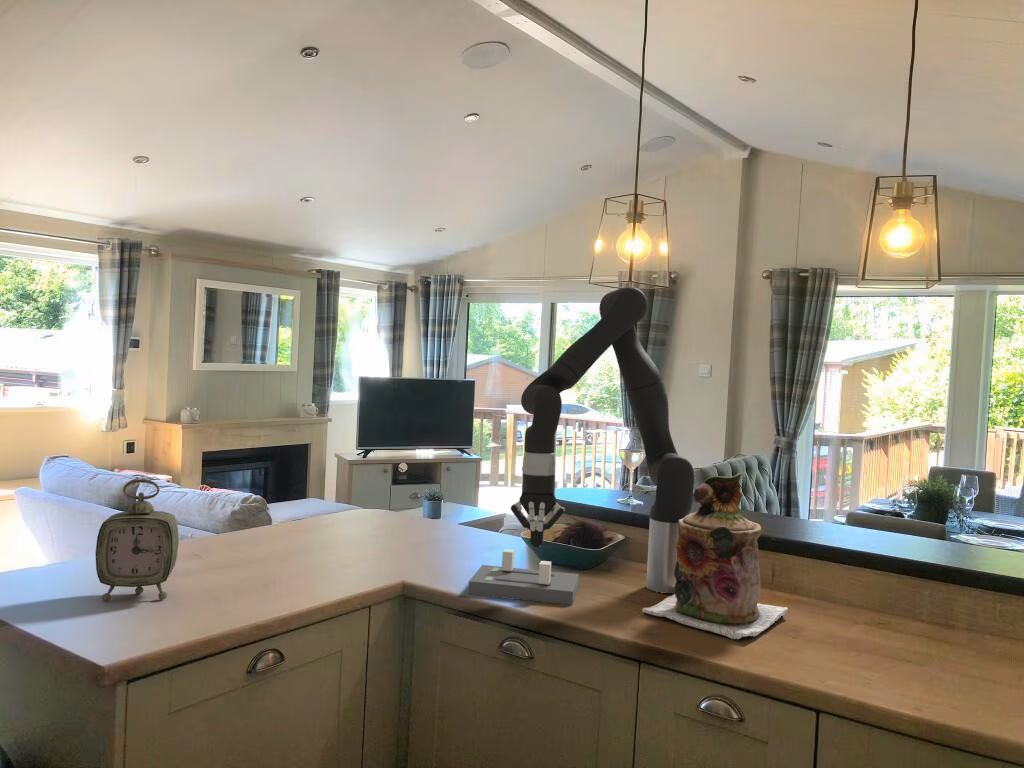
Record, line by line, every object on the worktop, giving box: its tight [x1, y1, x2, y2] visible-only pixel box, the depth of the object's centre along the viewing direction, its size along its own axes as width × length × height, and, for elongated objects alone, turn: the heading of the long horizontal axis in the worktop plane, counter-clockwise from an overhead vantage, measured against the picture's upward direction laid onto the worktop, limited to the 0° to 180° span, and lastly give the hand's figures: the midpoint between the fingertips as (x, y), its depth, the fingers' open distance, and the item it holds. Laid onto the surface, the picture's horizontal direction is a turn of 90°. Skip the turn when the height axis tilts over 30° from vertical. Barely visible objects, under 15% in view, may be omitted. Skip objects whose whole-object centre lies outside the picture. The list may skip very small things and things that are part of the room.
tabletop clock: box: [95, 478, 180, 602], centre depth 157 cm, size 14×9×25 cm, turn 105°
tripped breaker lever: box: [538, 560, 552, 584], centre depth 171 cm, size 2×3×4 cm
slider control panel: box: [467, 564, 580, 606], centre depth 176 cm, size 24×15×3 cm, turn 80°
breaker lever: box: [501, 548, 515, 571], centre depth 181 cm, size 2×3×4 cm
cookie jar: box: [641, 472, 789, 640], centre depth 164 cm, size 25×25×32 cm
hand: (536, 546), depth 171 cm, fingers closed
